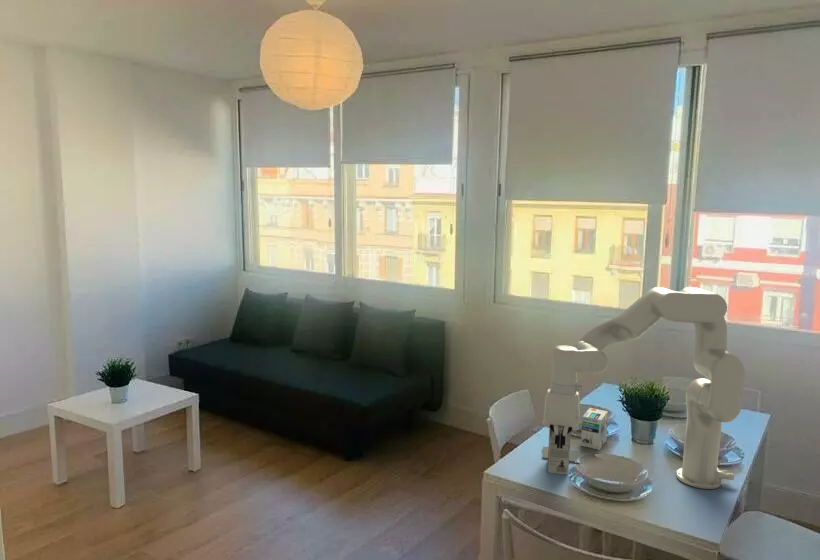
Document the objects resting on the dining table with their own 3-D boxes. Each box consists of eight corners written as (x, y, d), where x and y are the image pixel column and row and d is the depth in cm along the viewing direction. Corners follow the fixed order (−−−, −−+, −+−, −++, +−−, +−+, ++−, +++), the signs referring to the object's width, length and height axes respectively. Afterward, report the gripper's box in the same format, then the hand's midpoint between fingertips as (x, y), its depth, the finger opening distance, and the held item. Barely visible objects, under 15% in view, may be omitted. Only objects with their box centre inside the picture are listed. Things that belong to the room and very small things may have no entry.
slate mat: (579, 452, 204) (579, 450, 204) (580, 463, 196) (580, 462, 196) (543, 448, 207) (543, 446, 207) (542, 459, 199) (542, 457, 199)
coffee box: (547, 460, 198) (549, 413, 196) (567, 462, 197) (570, 415, 194) (547, 472, 189) (550, 423, 187) (568, 475, 188) (572, 425, 185)
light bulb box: (599, 450, 207) (602, 420, 205) (580, 446, 210) (582, 416, 208) (606, 439, 216) (608, 410, 214) (587, 435, 219) (589, 407, 218)
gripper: (589, 386, 181) (585, 444, 183) (538, 381, 184) (534, 439, 187) (590, 394, 174) (586, 455, 176) (537, 388, 177) (533, 448, 180)
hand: (559, 446), depth 182 cm, fingers closed
